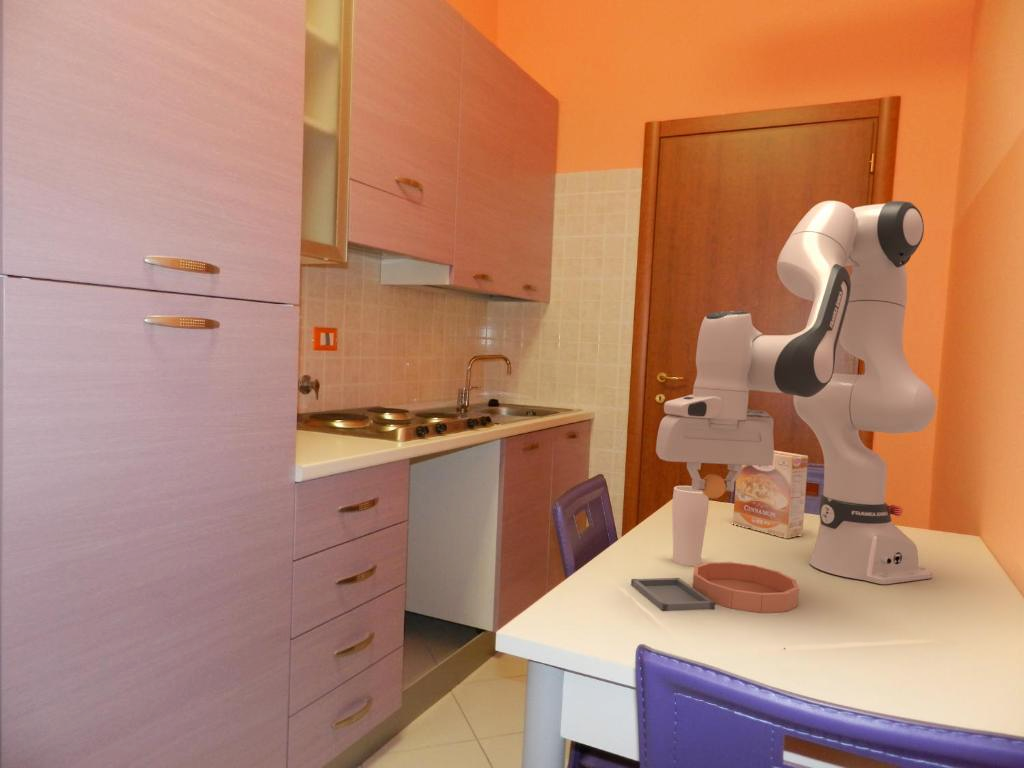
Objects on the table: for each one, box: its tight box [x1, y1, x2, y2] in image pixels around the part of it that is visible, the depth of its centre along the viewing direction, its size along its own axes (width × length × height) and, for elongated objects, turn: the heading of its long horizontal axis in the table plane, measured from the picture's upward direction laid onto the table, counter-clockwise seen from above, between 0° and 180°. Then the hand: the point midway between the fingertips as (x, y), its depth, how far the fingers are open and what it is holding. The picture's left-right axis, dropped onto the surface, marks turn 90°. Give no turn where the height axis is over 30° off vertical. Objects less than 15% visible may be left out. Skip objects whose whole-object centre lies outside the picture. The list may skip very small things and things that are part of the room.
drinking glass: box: [671, 485, 710, 567], centre depth 132 cm, size 7×7×15 cm
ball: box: [702, 473, 726, 499], centre depth 113 cm, size 4×4×4 cm
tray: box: [630, 577, 716, 612], centre depth 112 cm, size 9×12×2 cm
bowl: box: [692, 561, 800, 614], centre depth 115 cm, size 17×17×4 cm
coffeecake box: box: [732, 449, 809, 539], centre depth 165 cm, size 15×7×20 cm, turn 36°
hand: (712, 490), depth 113 cm, fingers closed on ball, 4 cm apart
